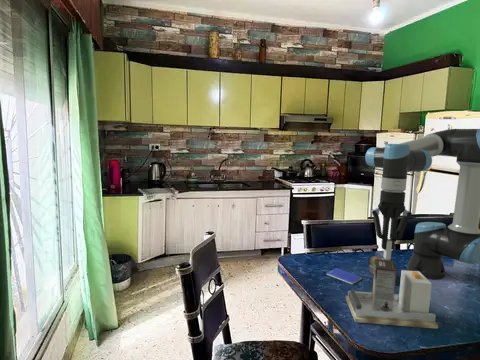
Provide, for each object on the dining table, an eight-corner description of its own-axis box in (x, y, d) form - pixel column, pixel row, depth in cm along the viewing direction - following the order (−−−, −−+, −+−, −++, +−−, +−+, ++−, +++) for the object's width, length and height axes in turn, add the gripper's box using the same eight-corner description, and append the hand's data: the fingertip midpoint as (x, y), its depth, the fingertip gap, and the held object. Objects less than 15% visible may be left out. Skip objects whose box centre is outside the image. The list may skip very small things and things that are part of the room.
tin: (366, 271, 154) (368, 253, 152) (372, 270, 154) (374, 252, 153) (390, 285, 139) (392, 266, 138) (397, 284, 140) (398, 265, 139)
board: (417, 303, 125) (418, 300, 124) (438, 328, 109) (438, 325, 109) (345, 298, 127) (345, 295, 127) (355, 322, 112) (355, 318, 111)
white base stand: (418, 302, 123) (419, 293, 123) (434, 322, 110) (436, 312, 109) (347, 297, 126) (348, 288, 125) (356, 316, 113) (356, 306, 112)
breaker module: (415, 302, 122) (419, 268, 120) (427, 318, 112) (432, 280, 110) (398, 301, 122) (401, 267, 120) (409, 316, 112) (412, 279, 110)
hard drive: (326, 272, 149) (352, 282, 139) (336, 267, 154) (362, 276, 145) (326, 275, 149) (352, 285, 140) (336, 270, 154) (361, 280, 145)
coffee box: (371, 299, 123) (374, 257, 121) (390, 303, 121) (394, 260, 119) (372, 312, 114) (376, 267, 112) (392, 316, 112) (397, 270, 110)
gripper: (376, 191, 109) (370, 261, 112) (418, 193, 108) (411, 263, 111) (369, 187, 116) (364, 253, 120) (409, 189, 115) (402, 255, 118)
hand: (386, 258), depth 115 cm, fingers closed
